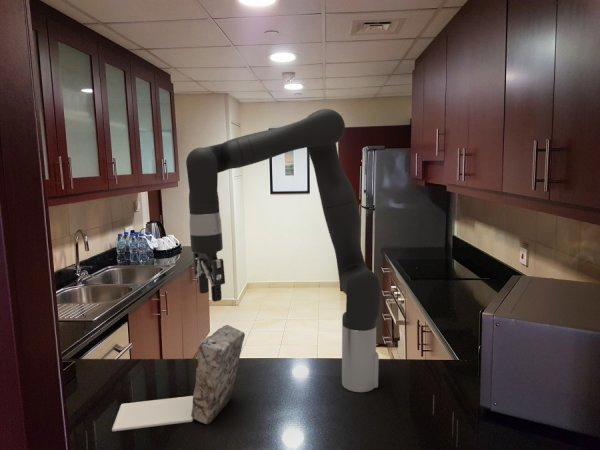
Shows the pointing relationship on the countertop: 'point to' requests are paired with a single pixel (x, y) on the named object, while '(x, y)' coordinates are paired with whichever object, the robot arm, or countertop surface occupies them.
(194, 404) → the stone block
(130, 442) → the countertop surface
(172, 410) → the mat
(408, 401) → the countertop surface
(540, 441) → the countertop surface
